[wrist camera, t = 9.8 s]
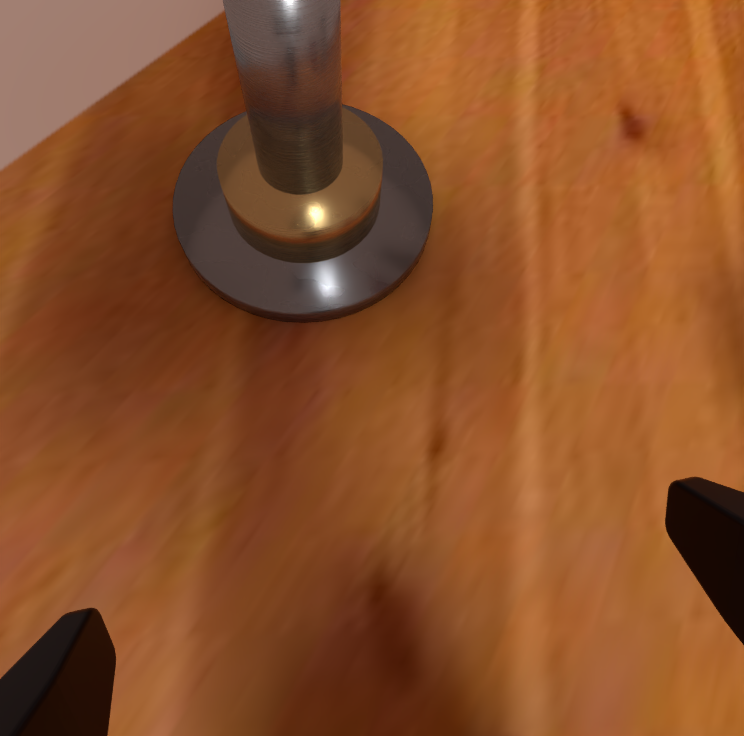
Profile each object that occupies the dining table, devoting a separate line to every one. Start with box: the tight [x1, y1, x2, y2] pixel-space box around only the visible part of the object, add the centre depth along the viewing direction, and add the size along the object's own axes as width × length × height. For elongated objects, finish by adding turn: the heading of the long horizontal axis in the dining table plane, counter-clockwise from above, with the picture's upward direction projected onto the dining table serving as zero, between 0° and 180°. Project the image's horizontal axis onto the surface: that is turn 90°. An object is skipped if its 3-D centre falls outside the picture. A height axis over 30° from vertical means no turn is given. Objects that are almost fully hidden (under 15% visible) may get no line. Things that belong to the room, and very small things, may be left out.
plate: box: [173, 105, 433, 323], centre depth 27 cm, size 12×12×1 cm
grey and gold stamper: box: [217, 0, 383, 263], centre depth 21 cm, size 7×7×12 cm
